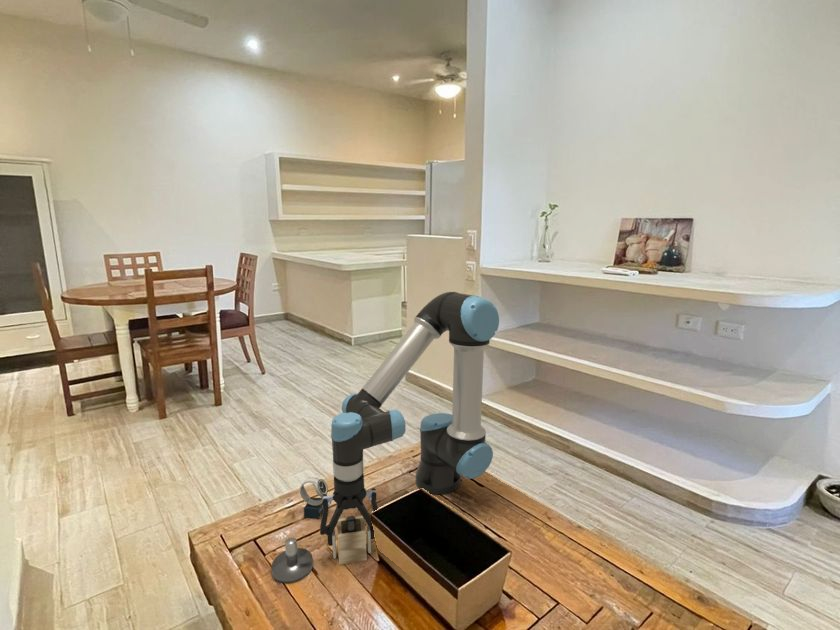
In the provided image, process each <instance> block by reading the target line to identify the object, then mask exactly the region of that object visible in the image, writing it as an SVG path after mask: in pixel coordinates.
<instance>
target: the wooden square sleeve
mask: <svg viewBox="0 0 840 630" xmlns="http://www.w3.org/2000/svg"><path fill="white" fill-rule="evenodd" d="M354 517H355V520H356V532H351V533H347V529H346V518H347V517H343V518H341V517H340V518H339V520H338V522H337V525H336V527H337V549H338V565H346V564H352V563H359V562H364V561H363V560H365V561H367V560H368V559H367V558H368V557H367V530H366V525H365V524H366V522H365V519H364V518H363V516H362V515H357V516H354Z"/></svg>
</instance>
